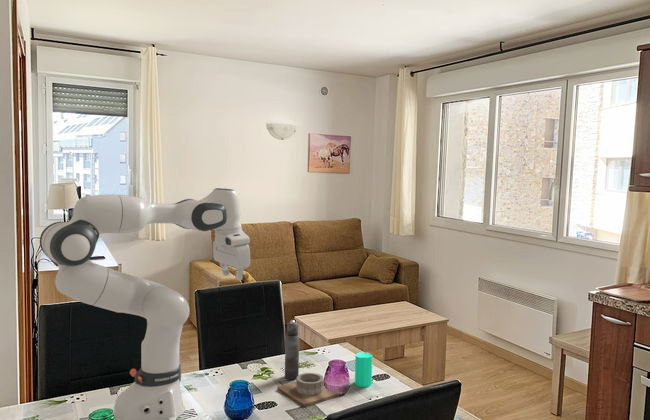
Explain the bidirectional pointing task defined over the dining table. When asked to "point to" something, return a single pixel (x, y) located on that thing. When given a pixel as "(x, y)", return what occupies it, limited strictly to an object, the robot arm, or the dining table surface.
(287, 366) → the pepper mill
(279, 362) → the dining table surface
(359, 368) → the candle
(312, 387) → the ring holder
